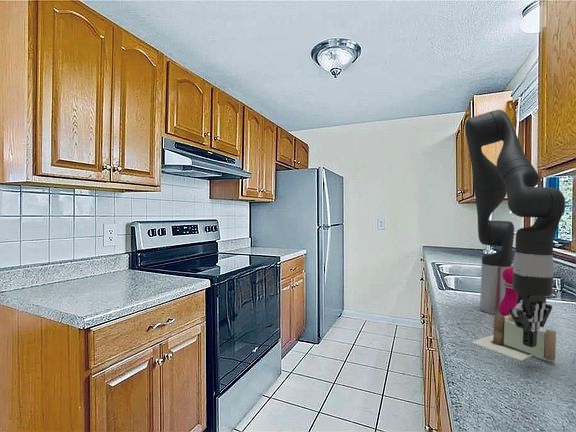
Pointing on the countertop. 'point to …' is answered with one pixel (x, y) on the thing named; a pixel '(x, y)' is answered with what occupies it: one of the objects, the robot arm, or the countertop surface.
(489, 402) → the countertop surface
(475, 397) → the countertop surface
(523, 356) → the card
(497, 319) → the fence fixed
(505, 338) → the fence gate
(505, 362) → the countertop surface
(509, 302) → the pepper mill
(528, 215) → the robot arm
